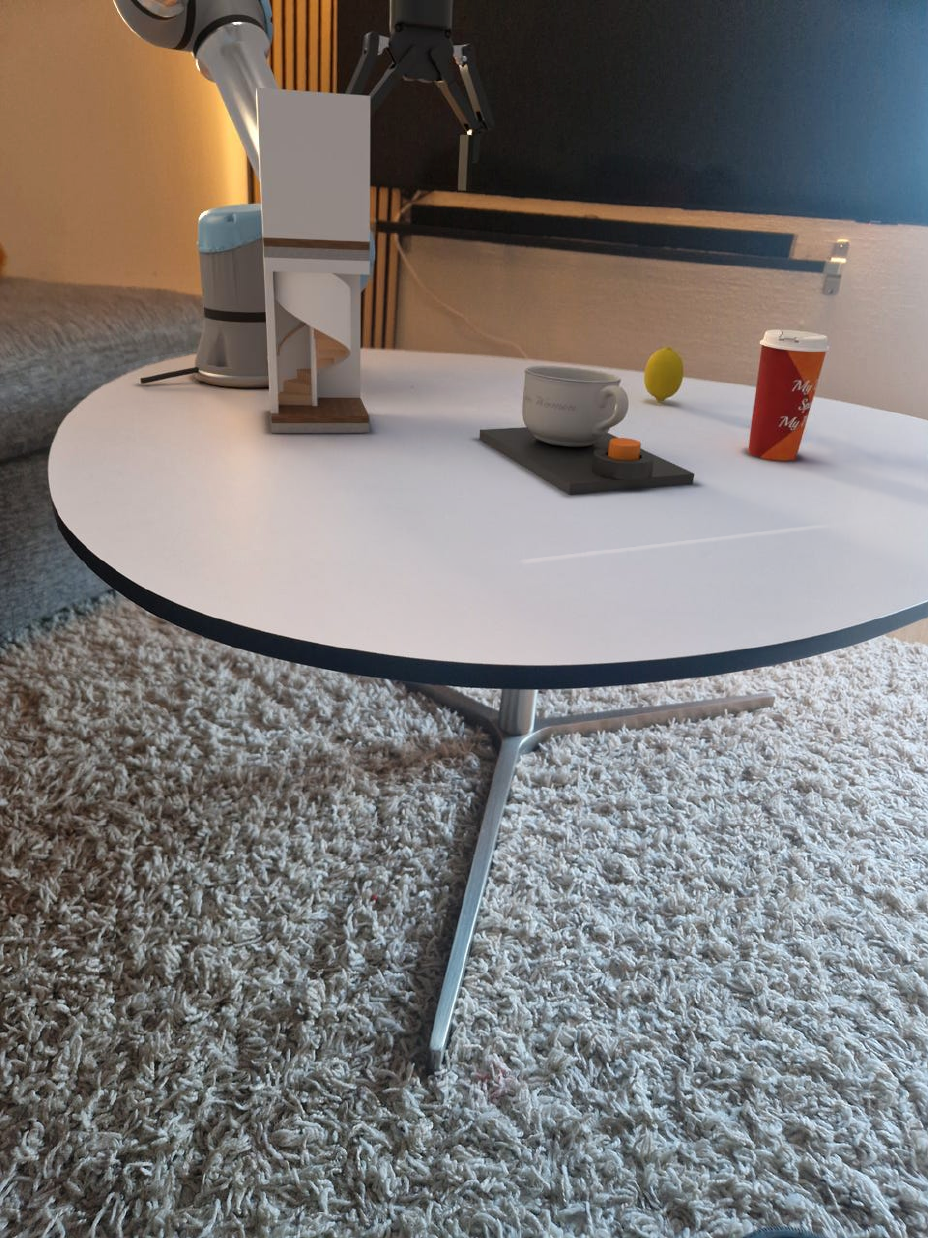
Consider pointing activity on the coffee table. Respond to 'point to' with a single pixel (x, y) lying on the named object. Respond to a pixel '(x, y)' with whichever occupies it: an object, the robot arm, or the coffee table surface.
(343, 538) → the coffee table surface
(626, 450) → the button
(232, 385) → the robot arm
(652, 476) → the scale
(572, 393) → the teacup
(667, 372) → the lemon
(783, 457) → the paper cup
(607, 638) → the coffee table surface
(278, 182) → the spiral staircase model
